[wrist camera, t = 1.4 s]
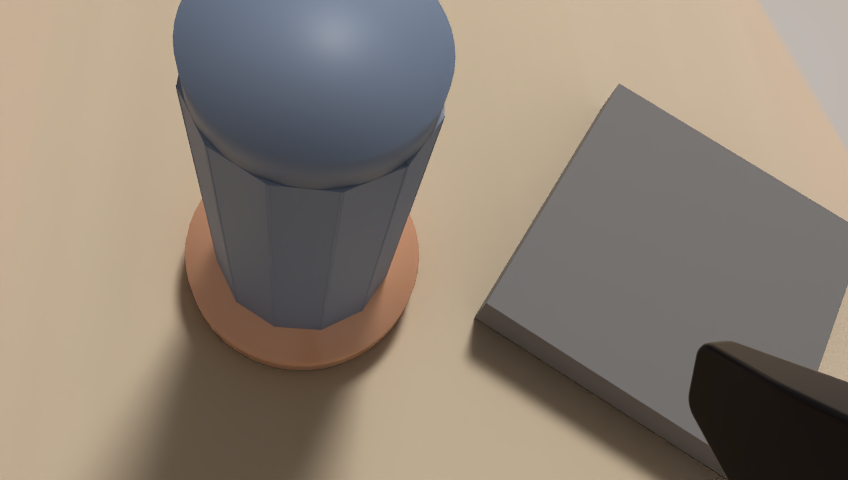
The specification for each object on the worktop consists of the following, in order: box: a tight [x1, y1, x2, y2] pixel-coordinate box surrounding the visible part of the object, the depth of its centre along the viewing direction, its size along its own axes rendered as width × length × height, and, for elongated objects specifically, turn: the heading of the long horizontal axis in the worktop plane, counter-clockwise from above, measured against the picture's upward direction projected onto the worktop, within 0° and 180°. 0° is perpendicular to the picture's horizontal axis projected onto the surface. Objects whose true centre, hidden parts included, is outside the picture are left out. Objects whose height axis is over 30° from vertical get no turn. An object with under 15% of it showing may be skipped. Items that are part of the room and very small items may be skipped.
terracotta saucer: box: [185, 199, 419, 370], centre depth 21 cm, size 7×7×5 cm
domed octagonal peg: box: [173, 0, 455, 330], centre depth 18 cm, size 5×5×10 cm
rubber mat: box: [475, 84, 848, 479], centre depth 24 cm, size 10×10×2 cm
